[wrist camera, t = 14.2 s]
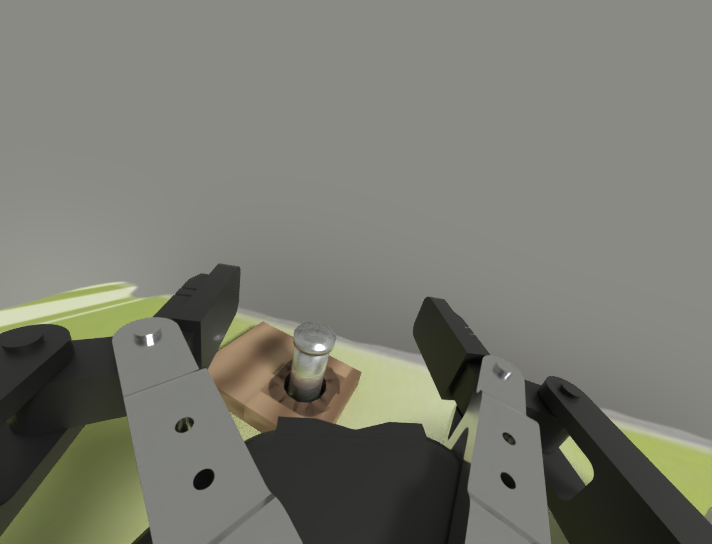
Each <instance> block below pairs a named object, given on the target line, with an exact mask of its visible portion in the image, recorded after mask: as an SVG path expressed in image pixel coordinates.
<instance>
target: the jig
mask: <svg viewBox="0 0 712 544" xmlns="http://www.w3.org/2000/svg"><path fill="white" fill-rule="evenodd" d="M294 350H295V346H294V344H293V337H292V336H290V335H288V334H286V333H284V332H282V331H280V330H278V329H276V328H274V327H272V326H270V325H269V324H267V323H265V322H261V323H260V324H258V325H257V326H255V327H254V328H252V329H251V330H249V331H248V332H246V333H245V334H243V335H242V336H240V337H239V338H237V339H236V340H234V341H233V342H231V343H230V344H228V345H227V346H225V347H224V348H222V349H221V350H219V351H218V352H216V354H215V356H214V358H213V360H212V362H211V364H210V366H209V368H208V371H209V373H210V375H211V377H212V379H213V381H214V383H215V385H216V387H217V389H218V391H219V393H220V395H221V397H222V399H223V401H224V403H225V405H226V407H227V409H228V411H230V412H231V413H233V414H234V415H236V416H237V417H239V418H240V419H242V420H243V421H245V422H246V423H248V424H249V425H251V426H252V427H254V428H255V429H257V430H258V431H260V432H261V433H264V432H267V431H271V430H275V429H276V427H277V421H278V416H281V417H301V418H317V419H320V420H324V421H327V422H330V423H333V424H336V422H337V420H338V418H339V417H340V415H341V413H342V411H343V410H344V408H345V406H346V404H347V403H348V401H349V399H350V397H351V396H352V394H353V392H354V391H355V389H356V387H357V385H358V382H359V379H360V376H361V372H360V371H358V370H356V369H354V368H352V367H350V366H348V365H347V364H345V363H343V362H341V361H339V360H337V359H335V358H333V357H331V356H329V357H328V361H327V365H326V370H325V374H324V378H323V382H322V387H321V393H322V394H323V396H322V397H321V398H320V399H318V400H315V401H313V402H311V403H305V402H297V401H295V400H294V399H292V398H290V397H289V396H288V395H287V393H286V391H285V389H286V388H287V387H288V386H289V381H290V375H291V369H292V362H293V356H294Z"/></svg>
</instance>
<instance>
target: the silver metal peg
mask: <svg viewBox="0 0 712 544" xmlns="http://www.w3.org/2000/svg"><path fill="white" fill-rule="evenodd" d="M335 341H336V335H335V333H334V331H333V330H332V329H331V328H329V327H328V326H326V325H324V324H321V323H316V322H309V323H304V324H301V325H300V326H298V327H297V328H296V329H295V331H294V336H293V344H294V346H295V350H294V356H293V362H292V369H291V375H290V381H289V387H288V393H287V395H288V396H289V397H290V398H292V399H294V400H295V401H297V402H305V403H311V402H313V401H315V400H318V399H319V395H320V391H321V387H322V382H323V378H324V374H325V370H326V365H327V361H328V357H329V353H330V352H331V351H332V350H333V348H334V345H335Z"/></svg>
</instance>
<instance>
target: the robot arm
mask: <svg viewBox="0 0 712 544" xmlns="http://www.w3.org/2000/svg"><path fill="white" fill-rule="evenodd" d="M239 289H240V267H239V266H232V265H226V264H218V265H217V266H216V267H215V268H214V269H213V271H212V272H211V273H210V274H209V275H208V274H199V275H197V276H195V277H193V278H191V279H189V280H188V281H187V282H186V283H185V284H184V285H183V286H182V288H181V289H179V290H178V291H177V292H176V293H175V295H173V296H172V298H171V299H170V300H169V301H168V302H167V303H166V304H165V305H164V306H163V307H162V308H161V309H160V310H159V311H158V312H157V313H156V314H155V315H154V316H153V317H152V318H145V319H140V320H136V321H133V322H131V323H129V324H126V325H125V326H123V327H121V328H120V329H119V330H118V331H117V332H116V333H115V334H114V336H113V337H105V338H94V339H83V340H72V339H71V336H70V332H69V331H68V330H67V329H66V328H64V327H62V326H59V325H52V324H39V325H30V326H25V327H20V328H16V329H12V330H9V331H6V332H3V333H1V334H0V536H1V535H2V534H3V532H4V531H5V530H6V528H7V527H8V526H9V524H10V523H11V522H12V521H13V519H14V518H15V517H16V515H17V514H18V513H19V511H20V510H21V509H22V507H23V506H24V505H25V503H26V502H27V501H28V499H29V498H30V497H31V496H32V494H33V493H34V492H35V490H36V489H37V488H38V486H39V485H40V484H41V482H42V481H43V480H44V478H45V477H46V476H47V474H48V473H49V472H50V471H51V469H52V468H53V467H54V465H55V464H56V463H57V461H58V460H59V459H60V457H61V456H62V455H63V453H64V452H65V451H66V449H67V448H68V447H69V446H70V444H71V443H72V442H73V440H74V439H75V438H76V436H77V435H78V434H79V432H80V431H81V430H82V428H83V427H84V426H85V425H86V424H91V423H96V422H100V421H105V420H110V419H115V418H120V417H124V416H127V418H128V423H129V428H130V433H131V438H132V442H133V447H134V452H135V457H136V462H137V467H138V472H139V477H140V482H141V487H142V492H143V497H144V502H145V507H146V511H147V516H148V521H149V527H148V528H147V529H146V530H145V531H144V532H143V533H142V534H141V535H140V536H139V537H138V538H137V539H136V540H135V541H134V542H133V543H132V544H551V536H550V526H549V516H548V507H549V509H550V510H551V512H552V514H553V516H554V517H555V519H556V521H557V523H558V525H559V526H560V528H561V530H562V532H563V533H564V535H565V537H566V539H567V540H568V542H569V544H712V524H711V523H710V522H709V521H708V520H707V519H706V518H705V517H704V516H703V515H702V514H701V513H700V512H699V511H698V510H697V509H696V508H695V507H694V506H693V505H692V504H691V503H690V502H689V501H688V500H687V499H686V498H685V497H684V495H683V494H682V493H681V492H680V491H679V490H678V489H677V488H676V487H675V486H674V485H673V484H672V483H671V482H670V481H669V480H668V479H667V478H666V477H665V476H664V475H663V474H662V473H661V472H660V471H659V470H658V469H657V468H656V467H655V466H654V465H653V463H652V462H651V461H650V460H649V459H648V458H647V457H646V456H645V455H644V454H643V453H642V452H641V451H640V450H639V449H638V448H637V447H636V446H635V445H634V444H633V443H632V442H631V441H630V440H629V439H628V438H627V437H626V436H625V435H624V434H623V432H622V431H621V430H620V429H619V428H618V427H617V426H616V425H615V424H614V423H613V422H612V421H611V420H610V419H609V418H608V417H607V416H606V415H605V414H604V413H603V412H602V411H601V410H600V409H599V408H598V407H597V406H596V405H595V404H594V403H593V402H592V400H590V398H589V397H588V396H587V395H586V394H585V393H584V392H582V391H581V390H580V389H579V388H577V387H576V386H574V385H573V384H571V383H570V382H568V381H566V380H564V379H561V378H559V377H555V376H549V377H547V379H546V380H545V381H544V383H543V384H542V385H538V384H535V383H532V382H529V381H526V380H524V378H523V375H522V374H521V373H520V371H519V370H518V369H517V368H516V367H515V366H513V365H512V364H511V363H509V362H508V361H506V360H504V359H502V358H500V357H497V356H493V355H490V354H489V353H488V351H487V350H486V349H485V347H484V346H483V345H482V343H481V342H480V341H479V340H478V338H477V337H476V336H475V335H474V333H473V332H472V330H471V329H470V328H469V327H468V325H467V324H466V323H465V321H464V320H463V319H462V318H461V317H460V316H459V315H457V314H456V313H455V312H454V311H453V310H452V309H451V308H450V306H449V305H448V303H447V302H446V301H445V300H444V299H439V298H434V297H426V298H425V299H424V301H423V304H422V306H421V309H420V311H419V313H418V316H417V318H416V321H415V323H414V327H413V336H414V338H415V341H416V343H417V345H418V348H419V350H420V352H421V354H422V356H423V359H424V361H425V363H426V365H427V368H428V370H429V372H430V374H431V377H432V379H433V381H434V383H435V385H436V388H437V390H438V392H439V394H440V397H441V399H443V400H455V402H456V405H455V406H454V408H453V410H452V414H451V417H450V421H449V424H448V428H447V431H446V435H445V439H444V442H443V445H442V444H441V443H439V442H437V441H435V440H433V439H430V438H428V437H426V434H425V431H424V428H423V426H422V424H418V423H398V422H388V423H383V424H379V425H375V426H371V427H366V428H362V429H357V430H354V429H350V428H346V427H343V426H340V425H337V424H333V423H330V422H327V421H324V420H320V419H317V418H301V417H281V416H278V421H277V427H276V429H275V430H271V431H267V432H264V433H261V434H258V435H256V436H254V437H252V438H249V439H247V440H246V441H243V439H242V437H241V435H240V433H239V431H238V429H237V427H236V425H235V423H234V421H233V419H232V417H231V415H230V413H229V411H228V409H227V407H226V405H225V403H224V401H223V399H222V397H221V395H220V393H219V391H218V389H217V387H216V385H215V383H214V381H213V379H212V377H211V375H210V373H209V371H208V368H209V366H210V364H211V362H212V360H213V358H214V356H215V354H216V352H217V350H218V348H219V346H220V344H221V342H222V340H223V338H224V336H225V334H226V332H227V331H228V329H229V327H230V325H231V323H232V321H233V319H234V317H235V315H236V312H237V308H238V303H239ZM569 436H571V437H572V439H573V440H574V441H575V443H576V444H577V445H578V446H579V448H580V449H581V450H582V452H583V453H584V454H585V455H586V457H587V458H588V459H589V461H590V462H591V464H592V467H593V470H594V478H593V480H592V481H591V482H590V483H589V484H588V485H587V486H586V485H585V484H584V483H583V481H582V480H581V478H580V477H579V476H578V474H577V473H576V471H575V470H574V468H573V467H572V466H571V464H570V463H569V461H568V460H567V459H566V457H565V456H564V454H563V453H562V452H561V450H560V449H559V446H560V445H561V444H562V443H563V442H564V441H565V440H566V439H567V438H568V437H569ZM547 505H548V507H547Z"/></svg>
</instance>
